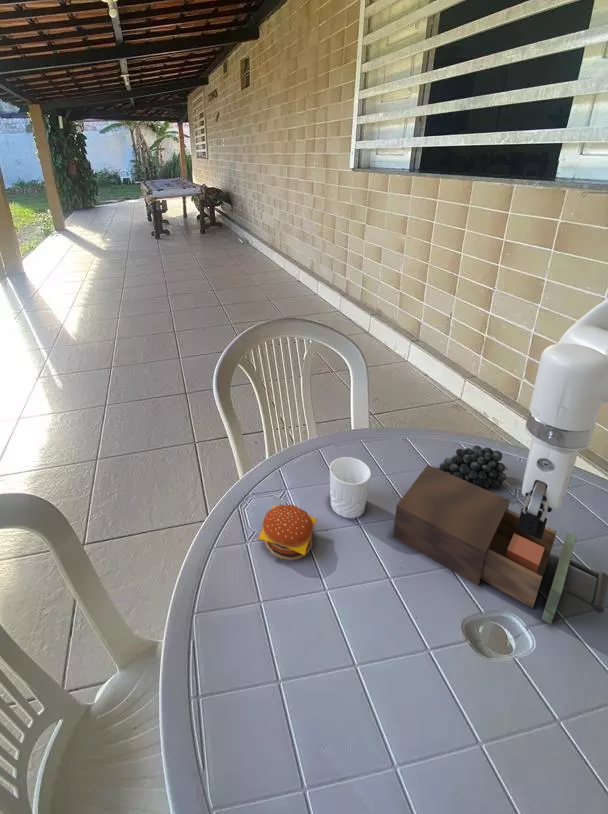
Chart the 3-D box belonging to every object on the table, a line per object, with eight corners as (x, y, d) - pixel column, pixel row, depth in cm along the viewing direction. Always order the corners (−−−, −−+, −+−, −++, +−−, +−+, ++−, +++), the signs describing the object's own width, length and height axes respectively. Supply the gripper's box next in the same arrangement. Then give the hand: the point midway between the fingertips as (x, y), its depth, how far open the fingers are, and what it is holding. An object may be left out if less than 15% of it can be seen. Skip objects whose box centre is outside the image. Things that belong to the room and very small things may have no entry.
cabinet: (501, 535, 80) (510, 500, 77) (477, 589, 70) (486, 552, 67) (422, 496, 90) (427, 464, 87) (392, 540, 80) (396, 505, 77)
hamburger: (317, 530, 83) (318, 504, 81) (305, 572, 75) (306, 545, 73) (271, 516, 87) (271, 491, 85) (256, 555, 79) (255, 528, 76)
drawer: (604, 583, 69) (615, 553, 67) (592, 648, 61) (605, 616, 58) (479, 522, 82) (485, 495, 79) (455, 569, 73) (461, 540, 71)
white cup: (340, 488, 93) (342, 451, 90) (374, 507, 88) (378, 468, 84) (320, 509, 88) (321, 471, 84) (354, 530, 83) (357, 490, 79)
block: (539, 566, 71) (545, 547, 70) (533, 584, 69) (539, 565, 67) (509, 551, 74) (513, 532, 73) (502, 568, 72) (507, 549, 70)
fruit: (438, 454, 88) (514, 453, 87) (423, 441, 97) (493, 440, 95) (439, 494, 89) (515, 494, 87) (424, 478, 97) (494, 477, 95)
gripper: (581, 470, 53) (552, 570, 60) (599, 409, 64) (573, 500, 71) (512, 445, 59) (492, 541, 65) (540, 393, 70) (520, 479, 76)
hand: (534, 519), depth 68 cm, fingers open, 6 cm apart
